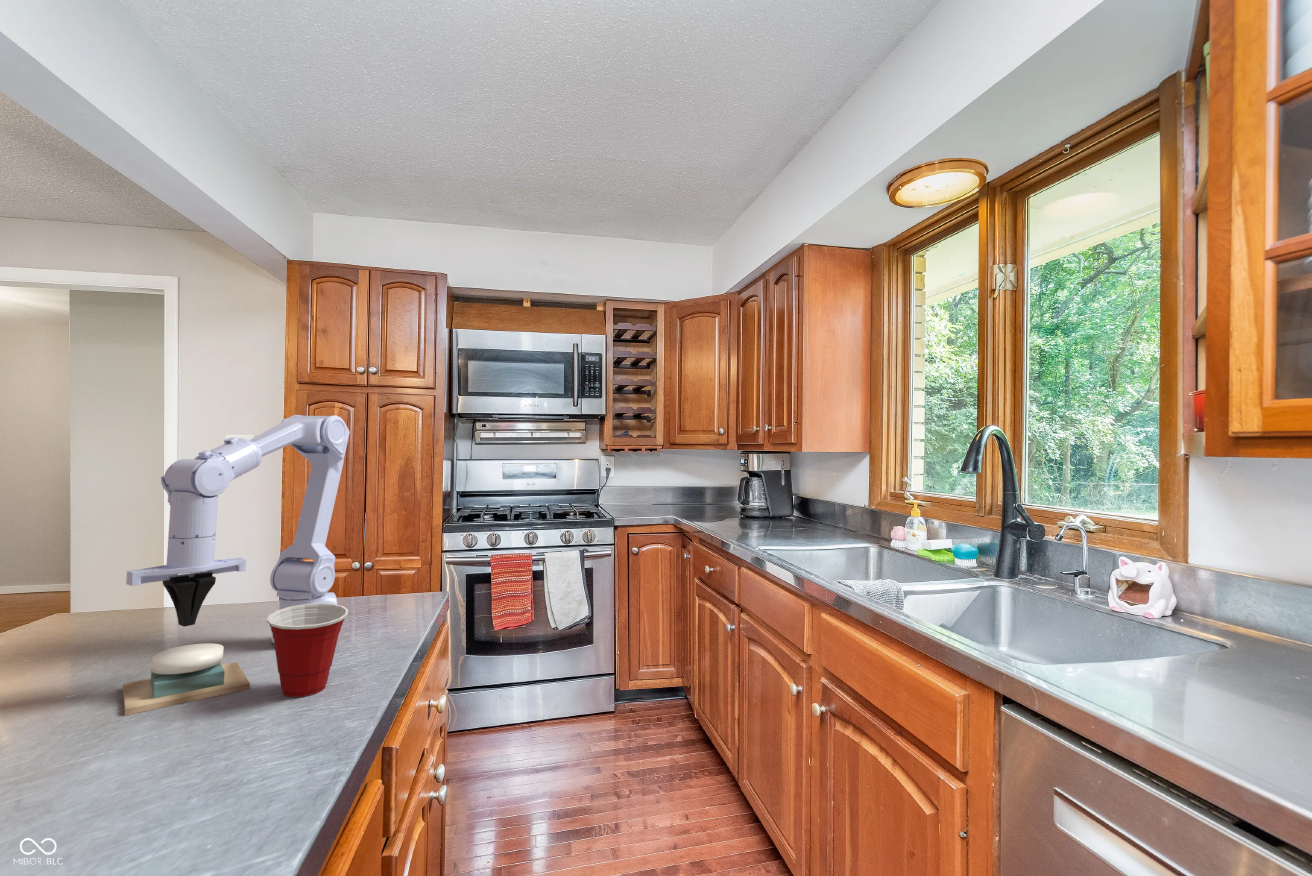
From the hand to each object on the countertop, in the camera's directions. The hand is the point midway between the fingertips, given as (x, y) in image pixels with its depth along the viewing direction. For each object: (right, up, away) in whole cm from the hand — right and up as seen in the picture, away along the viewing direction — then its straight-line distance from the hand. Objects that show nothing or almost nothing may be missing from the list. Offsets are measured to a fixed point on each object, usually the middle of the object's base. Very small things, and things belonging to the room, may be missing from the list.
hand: (186, 624), depth 87 cm
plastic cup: (+18, -10, 0) cm, 21 cm away
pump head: (+1, -8, -1) cm, 8 cm away
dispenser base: (+1, -10, -1) cm, 10 cm away
